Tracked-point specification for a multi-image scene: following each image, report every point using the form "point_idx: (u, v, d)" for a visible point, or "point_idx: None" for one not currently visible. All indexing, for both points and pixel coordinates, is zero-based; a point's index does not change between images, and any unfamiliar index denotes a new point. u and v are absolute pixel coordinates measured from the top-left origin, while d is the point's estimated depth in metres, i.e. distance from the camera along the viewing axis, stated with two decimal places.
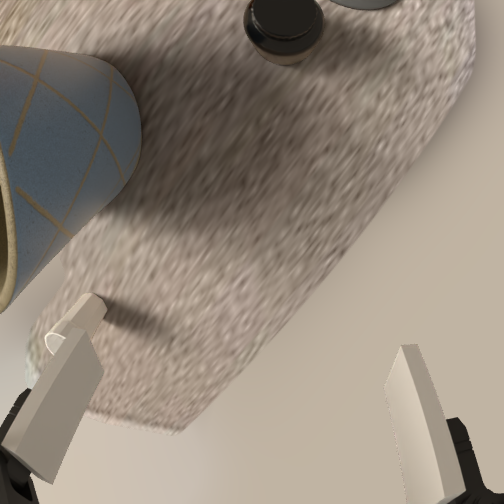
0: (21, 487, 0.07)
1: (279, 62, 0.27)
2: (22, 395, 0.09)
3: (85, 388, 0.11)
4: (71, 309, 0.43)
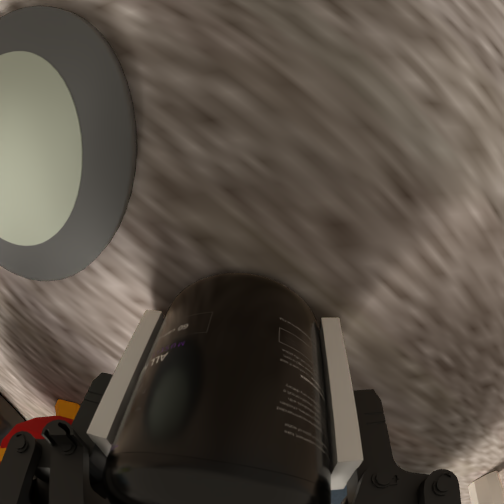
0: (100, 478, 0.08)
1: None
2: (97, 380, 0.10)
3: None
4: None
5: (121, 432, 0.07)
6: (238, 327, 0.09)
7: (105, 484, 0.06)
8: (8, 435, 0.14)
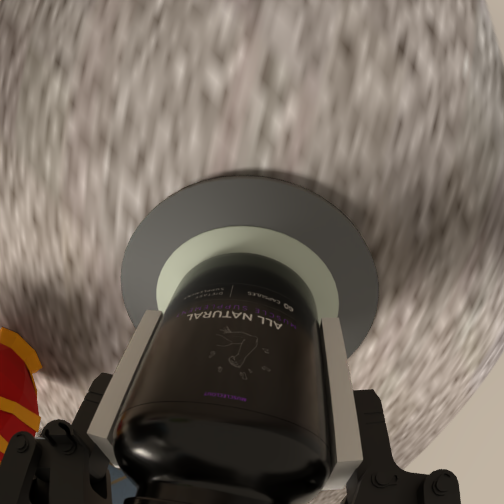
0: (101, 478, 0.08)
1: None
2: (97, 380, 0.10)
3: None
4: None
5: (244, 384, 0.07)
6: (318, 341, 0.11)
7: (210, 436, 0.06)
8: None
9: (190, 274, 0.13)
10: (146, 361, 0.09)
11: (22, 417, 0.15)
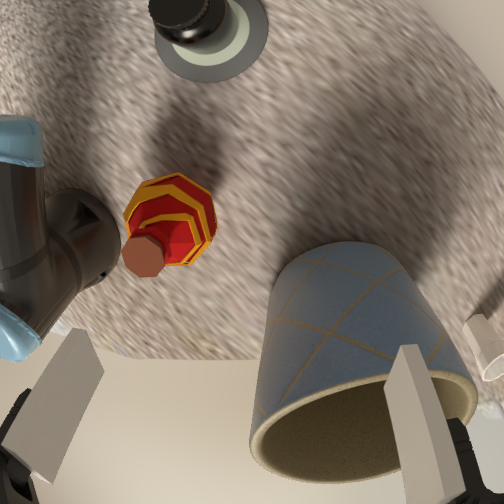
0: (21, 487, 0.07)
1: None
2: (22, 395, 0.09)
3: (85, 388, 0.11)
4: (471, 346, 0.42)
5: None
6: (230, 34, 0.26)
7: None
8: None
9: None
10: None
11: (189, 180, 0.32)
